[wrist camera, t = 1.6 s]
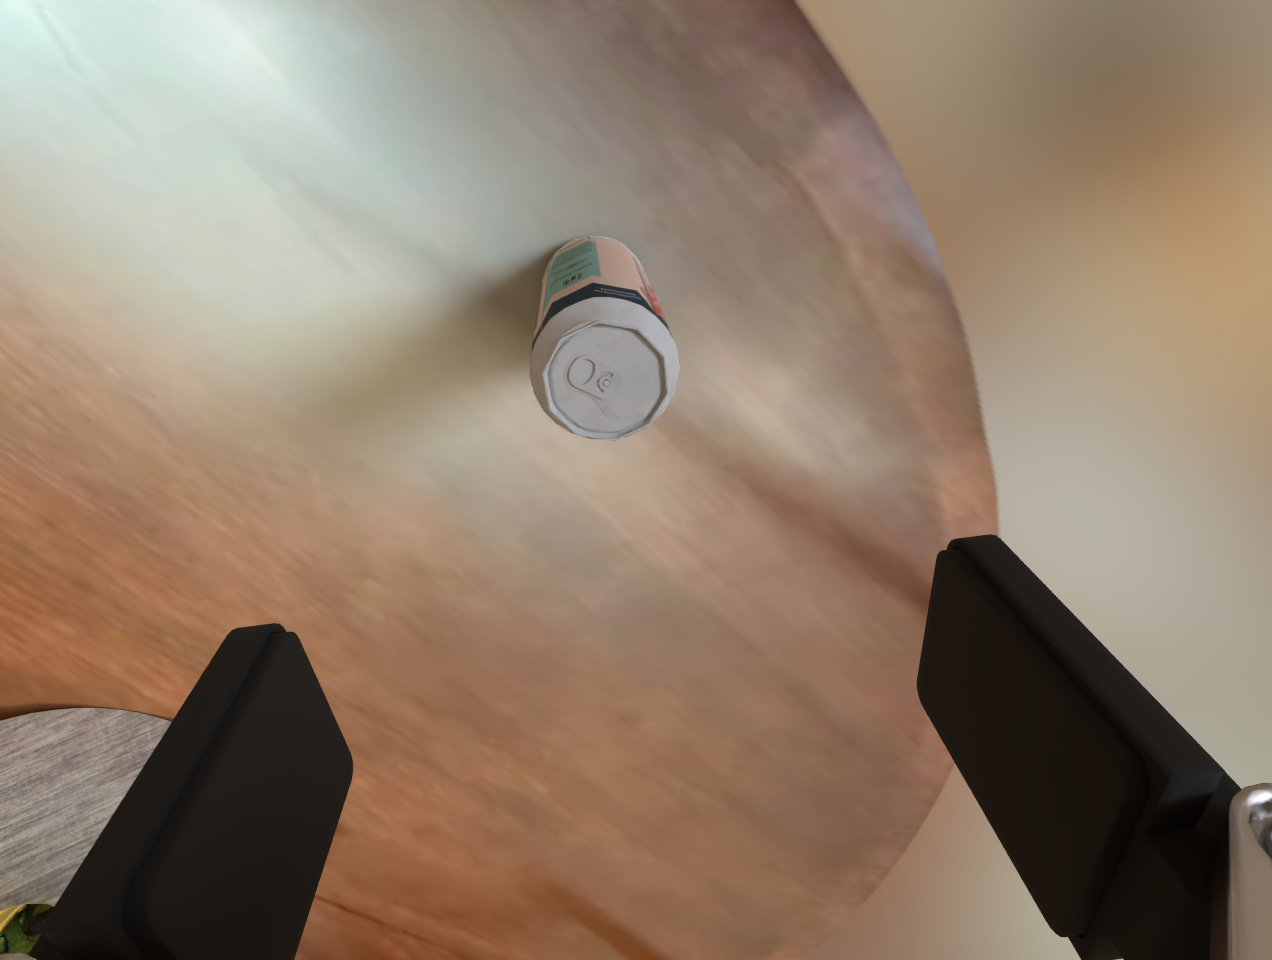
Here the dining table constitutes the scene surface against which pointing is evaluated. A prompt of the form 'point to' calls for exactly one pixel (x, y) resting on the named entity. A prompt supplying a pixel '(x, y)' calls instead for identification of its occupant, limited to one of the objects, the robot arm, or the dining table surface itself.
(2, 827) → the disc
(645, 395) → the beer can
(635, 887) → the dining table surface
